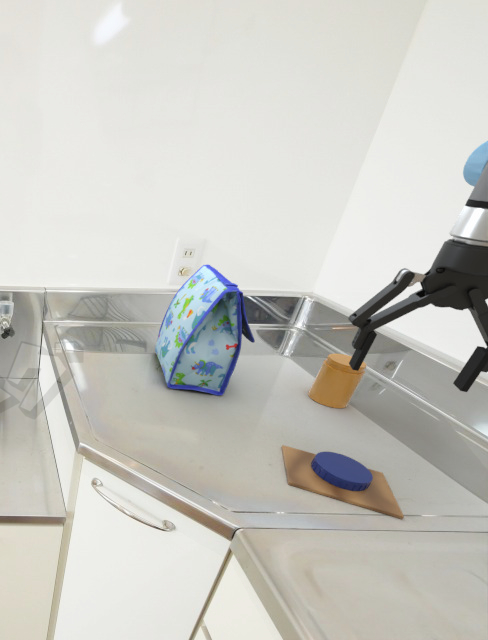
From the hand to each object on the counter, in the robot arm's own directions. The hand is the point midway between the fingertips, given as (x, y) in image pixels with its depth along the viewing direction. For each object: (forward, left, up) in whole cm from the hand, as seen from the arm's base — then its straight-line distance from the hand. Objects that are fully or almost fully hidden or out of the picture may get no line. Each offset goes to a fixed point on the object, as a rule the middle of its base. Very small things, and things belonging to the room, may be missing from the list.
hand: (404, 377), depth 68 cm
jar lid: (+2, +3, -18) cm, 18 cm away
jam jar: (-2, -30, -20) cm, 37 cm away
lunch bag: (+29, -26, -20) cm, 44 cm away
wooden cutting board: (+2, +4, -20) cm, 21 cm away
